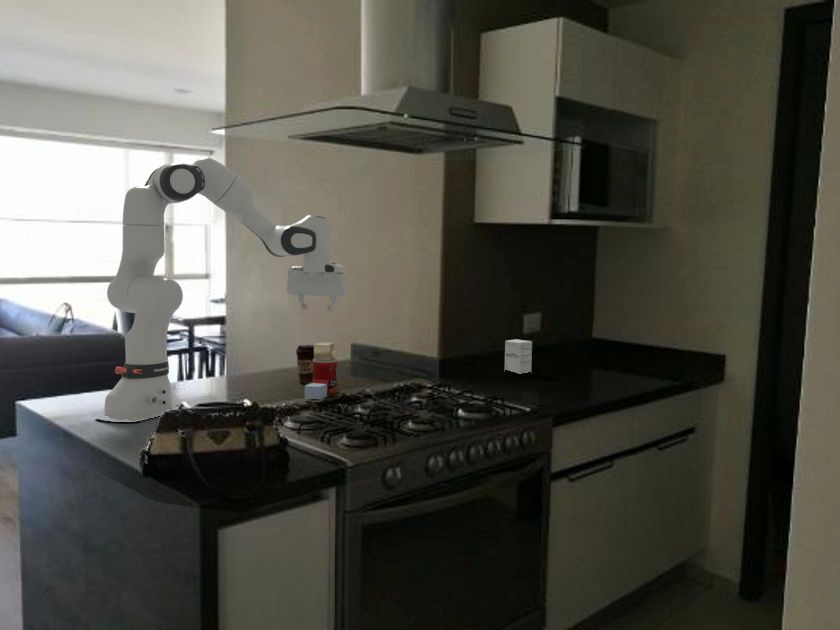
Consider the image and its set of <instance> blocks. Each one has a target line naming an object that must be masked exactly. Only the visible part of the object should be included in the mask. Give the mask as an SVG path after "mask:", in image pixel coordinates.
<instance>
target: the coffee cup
mask: <svg viewBox="0 0 840 630" xmlns="http://www.w3.org/2000/svg"><path fill="white" fill-rule="evenodd" d="M295 351H296V365H297V373H298V381H299V383H300V384H311V383H313V359H314V344H304V345H303V344H300V345H298V346H297V348H296V350H295Z"/></svg>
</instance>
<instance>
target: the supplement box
mask: <svg viewBox="0 0 840 630" xmlns="http://www.w3.org/2000/svg"><path fill="white" fill-rule="evenodd" d="M504 350H505V351H504V371H505V370H508V371H511V372H515V373H518V374H522V373H528V372H531V373H532V361H533V360H532V358H533V357H532V355H533V354H532V353H533V352H532V351H533V341H532V340H522V339H517V338H516V339H510V340H509V339H508V340H505V343H504Z"/></svg>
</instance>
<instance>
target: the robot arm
mask: <svg viewBox="0 0 840 630" xmlns="http://www.w3.org/2000/svg"><path fill="white" fill-rule="evenodd" d="M198 194H199V195H201V196H203V197H205V198H206V199H207V200H209V201H210V202H211V203H212V204H214V205H215V206H216V207H217V208H220V210H222V211H224V212H225V213H226V214H228V215H230V216H232V217H233V218H235V219H237V220H238V221H239V222H240V223H242V224H243V225H244V226H245V227H246V228H247V229H249V230H250V231H251V232H252V233H253V234H254V235H256V236H257V237H258V238H259V239H260V240H261V242H262V244H263V246H264V247H265V249H266V250H267V251H268V253H269V254H271V255H272V256H274V257H276V258H284V257H298V256H300V255H301V256H302V258H303V259H302V261H303V262H302V263H303V264H302V265H301V266H295V265H294V266H292V267H290V268H289V269H288V271H287V286H286V290H287V291H286V292H287V293H288V295H291V296H297V301H298V303H299V304H300V310H307V309H308V303H306V302H305V301H304V299H305V296H314V297H315V296H316V297H317V296H318V297H319V296H320V297H330V303H329V304H326V306H327V308H326V310H327V311H334V309H335V308H334V305H335V304H336V303H337V300H338V297H346V296H347V295H348V292H349V288H348V277H347V275H346V274H345V272H346V267H345V265H342V264H339V263H336V262H333V261H332V254H331V246H332V233H331V230H332V229H331V224H330V221H329V219H327V218H325V217H324V216H319V215H314V214H309V215H306V216H305V217H304V218H302V219H301V220H299V221H297V222H294V223H293V224H289V225H280V224H276V223H274V222H273V221H271V220H270V219H269V218H268V217H266V216H265V215H264V214H263V213H262V212H261V211H260V210H258V209H257V208H256V206H255V205H254V203H253V200H254V196H253V195H254V194H253V189H252V188H251V187H250V185H248V184H247V182H246V181H245V180H244V179H242V177H241V176H239V175H238V174H236V173H235V172H234V171H233V170H231V169H230V168H229V167H227V166H226V165H224V164H223V163H221V162H219V161H217V160H215V159H214V158H212V157H209V156H202V157H200V158H198V159H197V160H196V161H194V162H193V164H189V163H185V162H173V163H166V164H164V165H162V166H160V167H158V168H156V169H155V170H154V171H152V173H151V174H150V175H149V177H148V179H147V180H146V182H145V184H144V185H136V186H134V187H131V188H130V189H128V191H126V193H125V197H124V202H123V203H124V204H123V210H122V211H123V212H122V253H121V259H120V263H119V266H118V270H117V273H116V275H115V276H114V278H113V279H112V280H111V281H110V283H109V285H108V287H107V292H106V295H107V300H108V302H109V304H111V306H112V307H114V308H116V309H118V310H120V311H122V312H124V313H128V314H129V313H131V314H135V315H134V321H133V324H132V325H131V328H130V330H129V331H128V332H127V333H126V334H125V338H124V346H125V362H124V365H123V366H116V367H115V369H114V372H115V374H118V375H121V378H120V380H119V381H118V382H117V383H116V385H115V386H114V387H113V388H112V389H111V390H110V391H109V392H108V394H107V395H106V397H105V401H104V411H103V412H104V416H109V418H111V419H116V420H124V419H128V420H130V421H135V420H142V419H146V418H151V417H156V416H159V415H160V414H161V413H162V412H164V411H166V410H168V409H173V408H175V405H174V397H173V396H174V395H173V388H172V383H171V382H170V380H169V379H170V378H169V375H168V374H169V372H170V365H169V361H168V354H167V353H168V349H167V348H168V346H167V344H168V343H167V342H168V341H167V340H168V339H167V338H168V331H169V327H170V326H169V325H170V323H171V320H172V317H173V316H174V314H175V312H177V310H178V309H179V308H180V307H181V305H182V303H183V299H184V298H183V297H184V296H183V295H184V294H183V289H182V287H181V285H180V284H179V283H178V282H177V281H175V280H174V279H171V278H168V277H165V276H163V275H154V273H155V270H156V267H157V265H158V263H159V261H160V260H161V259H162V258H163V256H164V255H165V252H166V251H165V243H166V242H165V212H166V208H167V206H168V205H169V204H180V203H182V202H186V201H188V200H190V199H193V198H194V197H195V196H196V195H198Z"/></svg>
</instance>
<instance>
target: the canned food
mask: <svg viewBox="0 0 840 630" xmlns="http://www.w3.org/2000/svg"><path fill="white" fill-rule="evenodd" d="M313 383H318V384H327V395H332V394H331V393H334V394H336V393H337V391H338V359H337V358H336V357H335V358H334V359H331V360H314V359H313Z"/></svg>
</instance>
